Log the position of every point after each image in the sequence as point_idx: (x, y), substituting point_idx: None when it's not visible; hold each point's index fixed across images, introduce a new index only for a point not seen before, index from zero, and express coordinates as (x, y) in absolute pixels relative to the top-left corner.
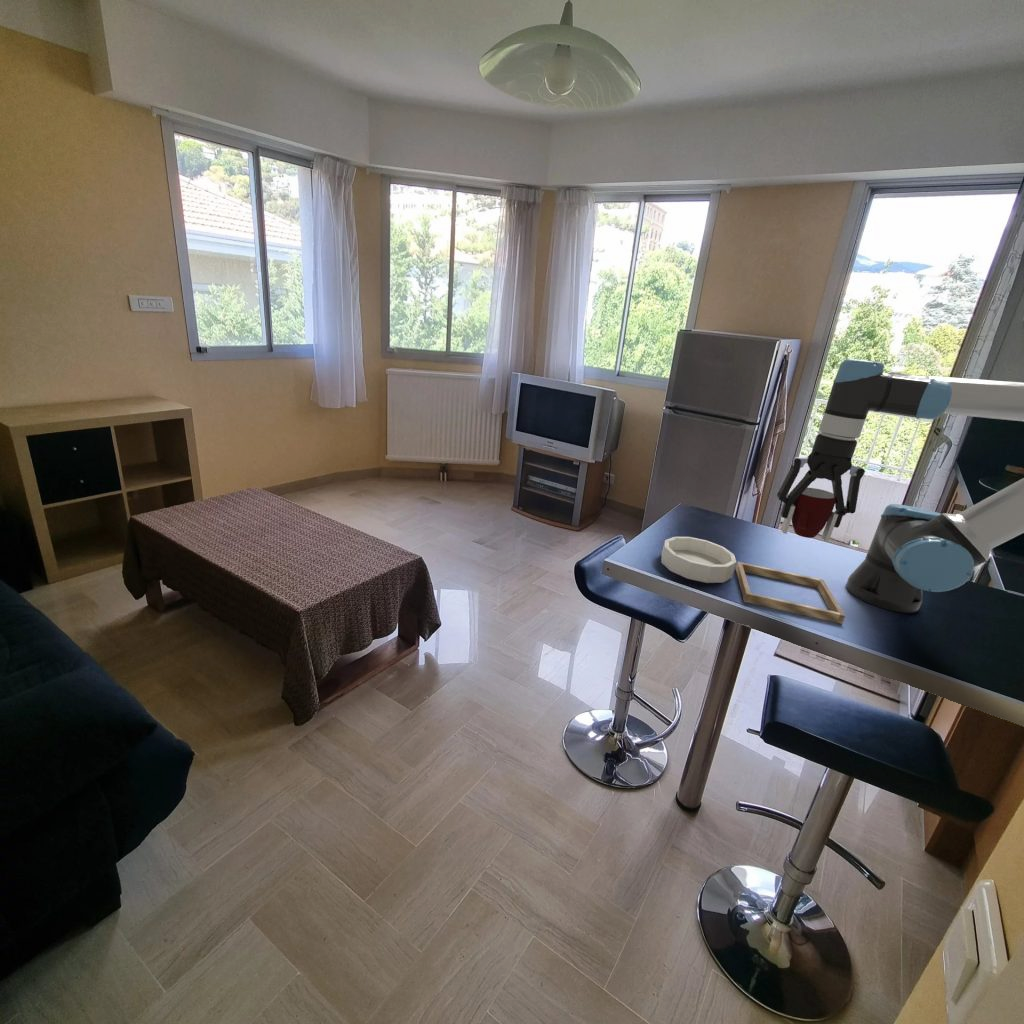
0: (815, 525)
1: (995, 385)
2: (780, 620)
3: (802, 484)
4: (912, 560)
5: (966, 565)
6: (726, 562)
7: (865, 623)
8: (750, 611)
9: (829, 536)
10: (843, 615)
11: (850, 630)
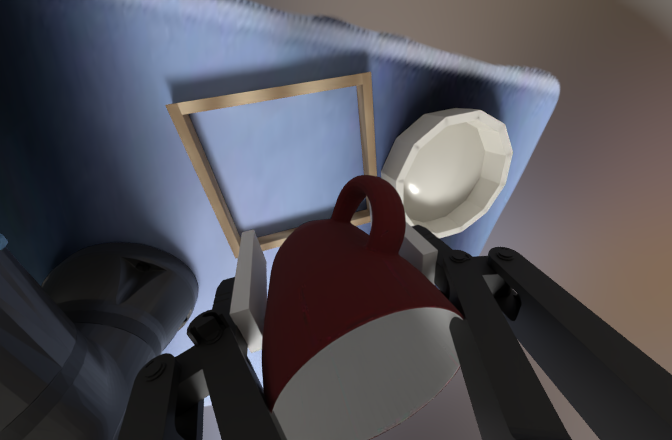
0: (307, 232)
1: None
2: (294, 22)
3: (531, 369)
4: None
5: None
6: None
7: (129, 145)
8: (352, 28)
9: (243, 242)
10: (169, 104)
11: (149, 80)
